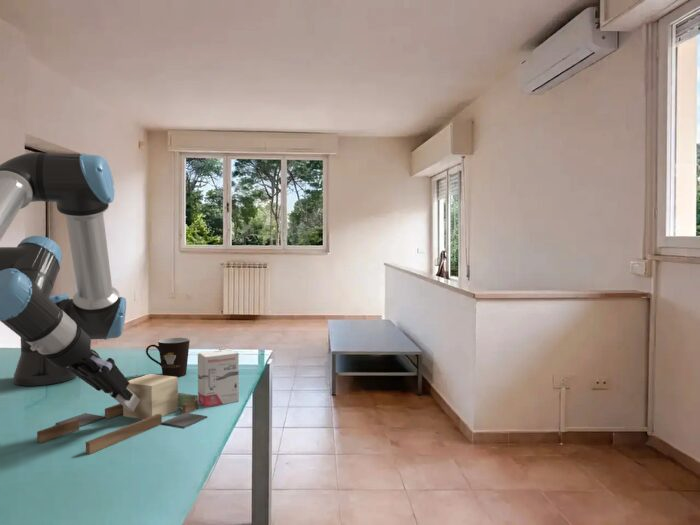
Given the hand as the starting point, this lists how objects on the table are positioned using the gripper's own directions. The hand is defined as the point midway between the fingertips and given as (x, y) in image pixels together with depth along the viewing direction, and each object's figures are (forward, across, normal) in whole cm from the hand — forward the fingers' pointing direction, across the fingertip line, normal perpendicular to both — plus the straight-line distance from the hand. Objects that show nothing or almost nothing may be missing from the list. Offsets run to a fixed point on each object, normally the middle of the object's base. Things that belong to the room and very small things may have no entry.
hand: (134, 405), depth 108 cm
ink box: (+15, +8, +10) cm, 20 cm away
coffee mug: (+26, -22, +21) cm, 40 cm away
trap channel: (+1, 0, -4) cm, 4 cm away
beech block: (+6, -1, +1) cm, 6 cm away
